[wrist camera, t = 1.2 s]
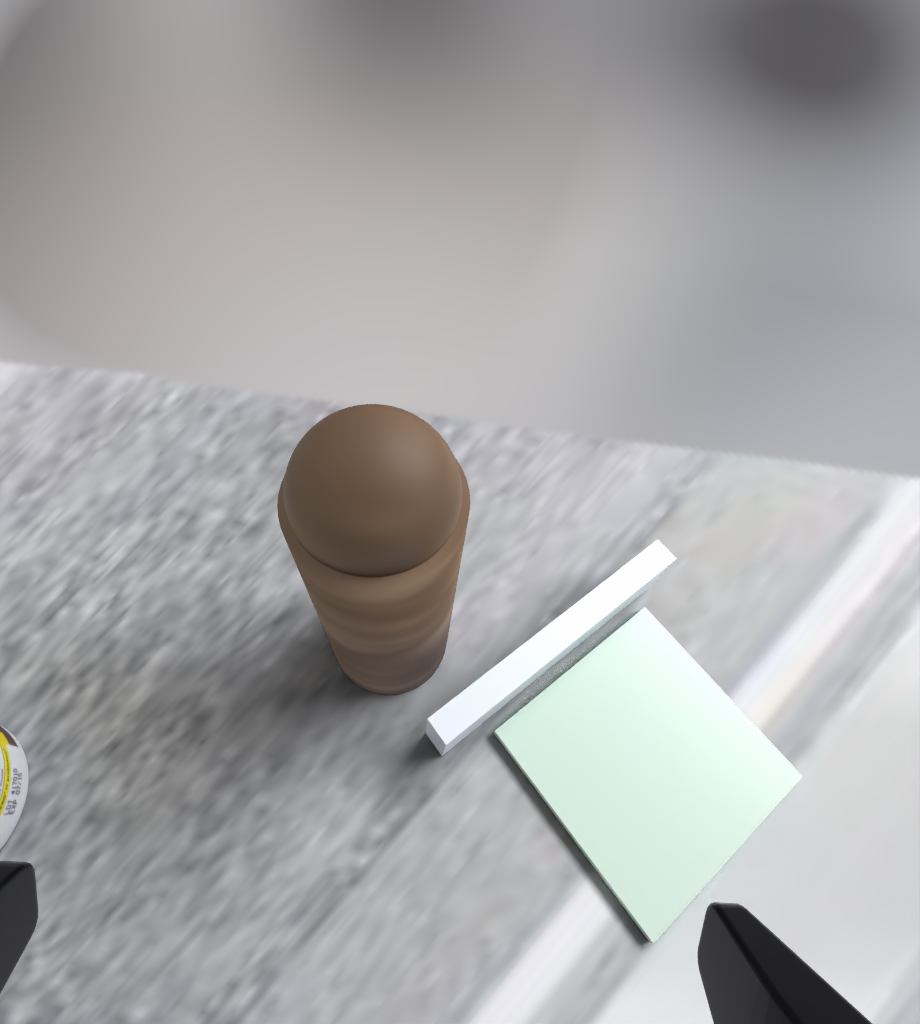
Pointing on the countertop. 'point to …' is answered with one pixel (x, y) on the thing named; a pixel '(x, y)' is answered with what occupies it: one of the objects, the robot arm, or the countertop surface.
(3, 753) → the supplement bottle
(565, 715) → the coaster
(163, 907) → the countertop surface
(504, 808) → the countertop surface
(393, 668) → the pepper mill
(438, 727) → the rail
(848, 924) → the countertop surface
